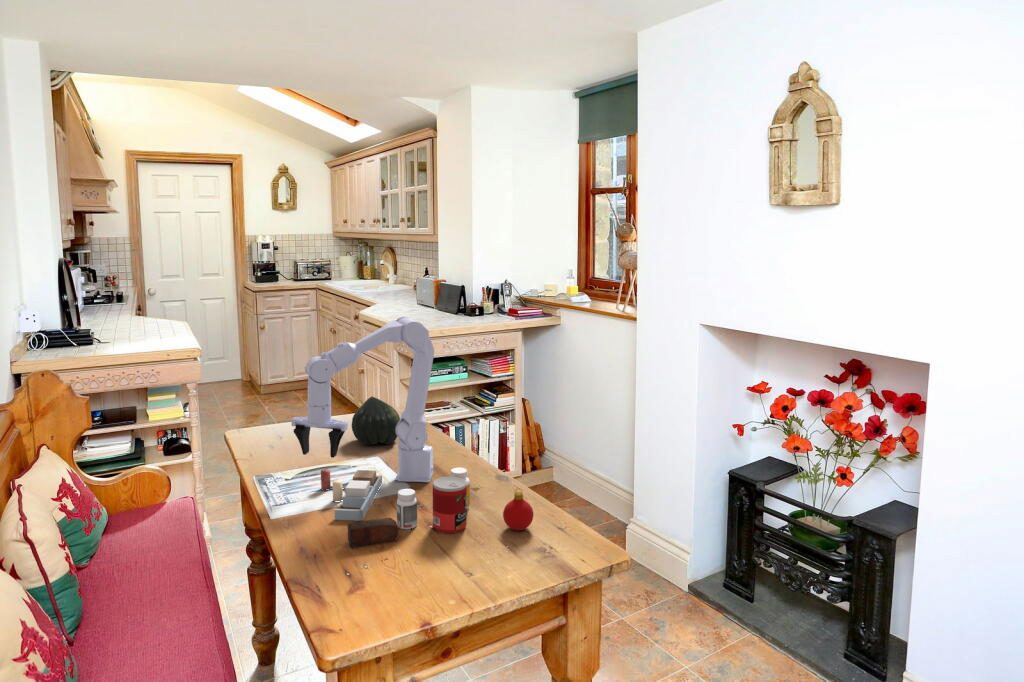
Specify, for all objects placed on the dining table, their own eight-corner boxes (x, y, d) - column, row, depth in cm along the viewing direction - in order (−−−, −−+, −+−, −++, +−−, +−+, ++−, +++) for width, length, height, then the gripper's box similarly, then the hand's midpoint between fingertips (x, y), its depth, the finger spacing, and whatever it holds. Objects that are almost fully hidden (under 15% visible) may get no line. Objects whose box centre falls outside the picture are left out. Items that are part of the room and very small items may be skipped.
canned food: (461, 535, 163) (462, 490, 161) (428, 532, 165) (428, 487, 163) (470, 521, 171) (470, 477, 169) (438, 518, 172) (438, 474, 170)
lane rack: (382, 484, 192) (381, 475, 191) (362, 520, 170) (362, 510, 170) (357, 483, 192) (357, 475, 192) (334, 519, 170) (334, 510, 170)
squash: (394, 436, 215) (398, 391, 222) (344, 437, 215) (350, 392, 223) (401, 453, 227) (404, 410, 235) (354, 454, 227) (359, 411, 235)
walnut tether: (376, 486, 191) (376, 468, 190) (372, 494, 186) (371, 475, 185) (324, 485, 191) (323, 467, 190) (318, 492, 186) (318, 474, 185)
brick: (350, 549, 156) (349, 529, 155) (347, 541, 160) (347, 522, 159) (398, 542, 160) (398, 522, 159) (394, 534, 164) (394, 515, 163)
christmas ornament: (529, 521, 171) (530, 481, 170) (535, 534, 165) (536, 493, 163) (500, 523, 170) (501, 483, 168) (505, 536, 163) (506, 495, 161)
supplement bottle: (458, 513, 175) (458, 476, 173) (443, 507, 178) (443, 470, 177) (474, 507, 179) (474, 470, 177) (459, 501, 182) (459, 464, 181)
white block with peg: (370, 497, 183) (369, 479, 183) (365, 505, 179) (365, 486, 178) (335, 496, 184) (335, 477, 183) (330, 504, 179) (329, 485, 178)
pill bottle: (420, 522, 170) (420, 489, 168) (411, 531, 165) (411, 497, 164) (402, 519, 171) (402, 486, 169) (393, 527, 167) (392, 494, 165)
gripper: (285, 405, 180) (286, 457, 182) (339, 410, 177) (339, 462, 180) (298, 398, 187) (299, 448, 189) (351, 403, 184) (350, 453, 187)
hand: (319, 454), depth 185 cm, fingers open, 7 cm apart
